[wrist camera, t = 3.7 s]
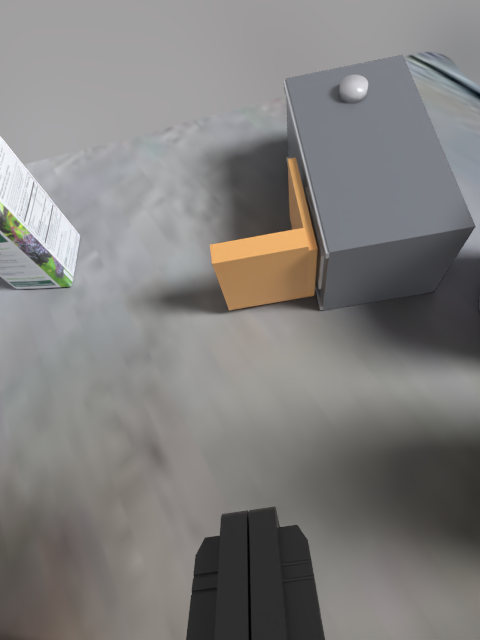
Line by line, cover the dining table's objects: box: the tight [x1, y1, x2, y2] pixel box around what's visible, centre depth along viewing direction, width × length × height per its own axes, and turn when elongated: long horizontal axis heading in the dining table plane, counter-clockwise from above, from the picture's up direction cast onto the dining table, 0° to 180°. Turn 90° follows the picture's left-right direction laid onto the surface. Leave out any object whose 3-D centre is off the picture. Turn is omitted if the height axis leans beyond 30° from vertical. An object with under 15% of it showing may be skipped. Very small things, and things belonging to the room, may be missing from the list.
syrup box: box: [0, 136, 80, 289], centre depth 34 cm, size 6×6×14 cm
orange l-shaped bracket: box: [210, 157, 318, 310], centre depth 33 cm, size 8×7×8 cm
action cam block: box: [283, 55, 475, 311], centre depth 34 cm, size 17×9×10 cm, turn 8°
